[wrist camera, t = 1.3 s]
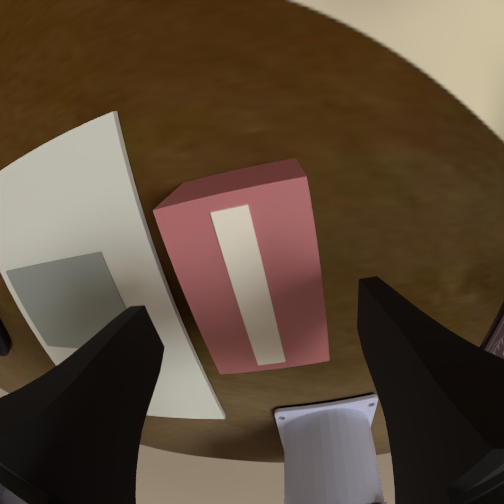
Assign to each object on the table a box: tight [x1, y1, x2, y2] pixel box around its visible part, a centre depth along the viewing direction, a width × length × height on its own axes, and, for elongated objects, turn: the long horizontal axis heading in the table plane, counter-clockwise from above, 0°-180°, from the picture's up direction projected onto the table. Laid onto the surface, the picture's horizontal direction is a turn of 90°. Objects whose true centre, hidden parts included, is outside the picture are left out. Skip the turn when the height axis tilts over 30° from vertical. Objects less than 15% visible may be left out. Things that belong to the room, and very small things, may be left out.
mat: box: [0, 111, 225, 419], centre depth 16 cm, size 22×14×1 cm, turn 10°
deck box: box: [153, 158, 330, 374], centre depth 12 cm, size 8×5×4 cm, turn 13°
